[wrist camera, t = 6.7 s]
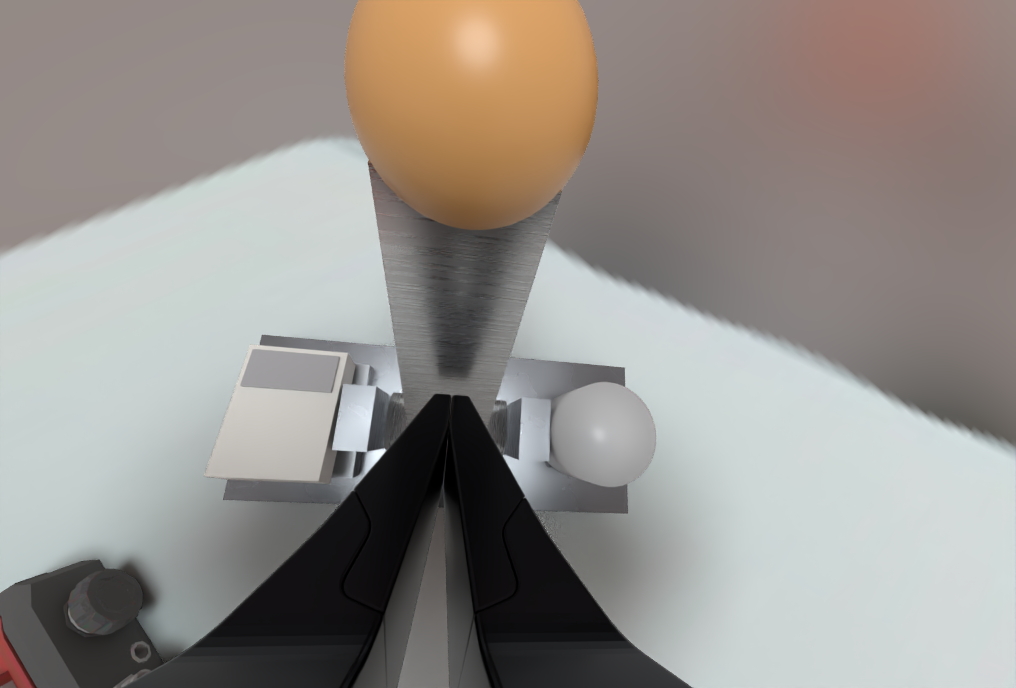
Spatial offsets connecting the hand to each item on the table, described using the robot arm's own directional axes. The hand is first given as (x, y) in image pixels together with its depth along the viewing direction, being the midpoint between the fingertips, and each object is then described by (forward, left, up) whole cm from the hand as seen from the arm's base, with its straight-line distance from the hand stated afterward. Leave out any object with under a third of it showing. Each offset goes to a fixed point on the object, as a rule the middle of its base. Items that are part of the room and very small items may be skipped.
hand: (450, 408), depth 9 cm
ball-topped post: (0, 0, -4) cm, 4 cm away
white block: (+2, +5, -3) cm, 6 cm away
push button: (-2, -4, -6) cm, 8 cm away
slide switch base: (0, 0, -8) cm, 8 cm away
